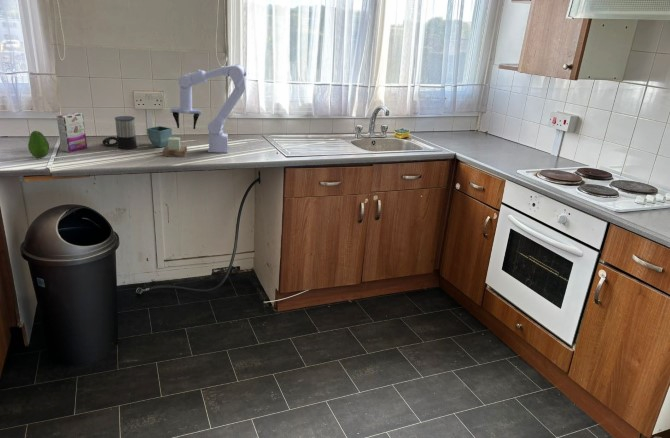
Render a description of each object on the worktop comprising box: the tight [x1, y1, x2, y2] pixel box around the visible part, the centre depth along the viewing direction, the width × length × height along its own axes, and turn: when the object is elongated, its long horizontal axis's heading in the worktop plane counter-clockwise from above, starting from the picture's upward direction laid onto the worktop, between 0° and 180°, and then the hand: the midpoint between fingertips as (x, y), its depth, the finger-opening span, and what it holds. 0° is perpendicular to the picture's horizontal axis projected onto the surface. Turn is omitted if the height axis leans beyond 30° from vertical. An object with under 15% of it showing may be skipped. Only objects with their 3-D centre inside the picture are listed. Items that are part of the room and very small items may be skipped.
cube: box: [168, 136, 182, 150], centre depth 241 cm, size 5×5×5 cm
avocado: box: [27, 130, 50, 159], centre depth 219 cm, size 8×8×12 cm
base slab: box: [162, 145, 188, 158], centre depth 243 cm, size 10×10×2 cm
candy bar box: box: [56, 112, 88, 153], centre depth 235 cm, size 11×5×16 cm, turn 161°
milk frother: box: [101, 115, 138, 151], centre depth 245 cm, size 14×16×15 cm
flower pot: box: [146, 125, 173, 148], centre depth 253 cm, size 9×9×9 cm
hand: (186, 128), depth 250 cm, fingers open, 7 cm apart
